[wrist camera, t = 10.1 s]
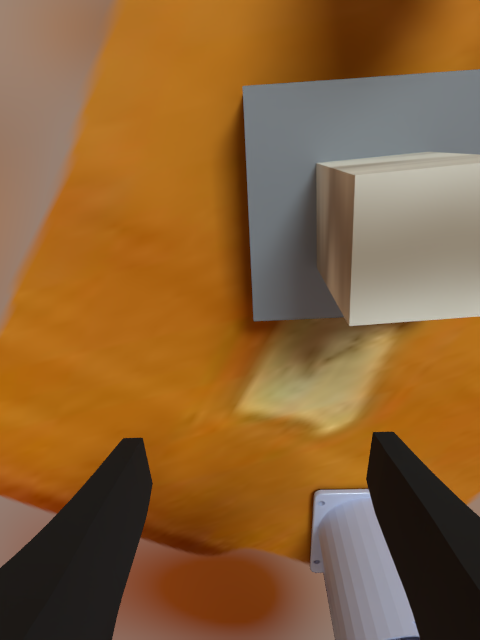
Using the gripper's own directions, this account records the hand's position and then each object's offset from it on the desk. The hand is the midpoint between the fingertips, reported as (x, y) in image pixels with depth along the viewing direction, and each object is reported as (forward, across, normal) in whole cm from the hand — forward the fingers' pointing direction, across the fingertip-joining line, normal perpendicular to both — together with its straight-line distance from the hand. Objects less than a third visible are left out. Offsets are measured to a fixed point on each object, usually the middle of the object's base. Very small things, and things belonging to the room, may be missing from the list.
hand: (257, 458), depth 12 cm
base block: (+11, -5, -6) cm, 13 cm away
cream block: (+8, -5, -6) cm, 11 cm away
